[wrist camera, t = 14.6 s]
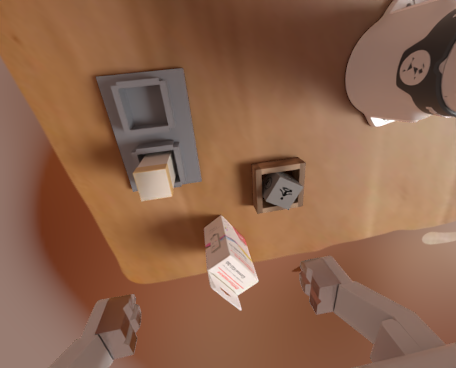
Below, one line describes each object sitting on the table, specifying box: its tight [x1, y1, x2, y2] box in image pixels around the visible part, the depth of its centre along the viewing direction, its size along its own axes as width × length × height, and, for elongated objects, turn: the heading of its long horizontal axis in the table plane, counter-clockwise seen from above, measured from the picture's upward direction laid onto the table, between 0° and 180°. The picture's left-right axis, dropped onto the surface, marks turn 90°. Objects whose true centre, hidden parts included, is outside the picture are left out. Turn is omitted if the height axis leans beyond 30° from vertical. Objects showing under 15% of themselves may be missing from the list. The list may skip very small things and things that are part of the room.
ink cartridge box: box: [204, 215, 259, 310], centre depth 39 cm, size 9×5×15 cm, turn 38°
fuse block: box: [96, 68, 202, 192], centre depth 33 cm, size 12×18×4 cm, turn 5°
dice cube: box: [262, 172, 303, 210], centre depth 40 cm, size 5×5×5 cm
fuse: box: [133, 150, 176, 201], centre depth 32 cm, size 4×4×9 cm
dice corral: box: [252, 158, 306, 214], centre depth 41 cm, size 9×9×3 cm
